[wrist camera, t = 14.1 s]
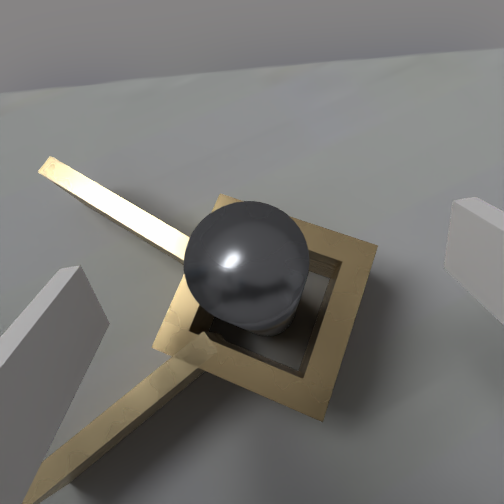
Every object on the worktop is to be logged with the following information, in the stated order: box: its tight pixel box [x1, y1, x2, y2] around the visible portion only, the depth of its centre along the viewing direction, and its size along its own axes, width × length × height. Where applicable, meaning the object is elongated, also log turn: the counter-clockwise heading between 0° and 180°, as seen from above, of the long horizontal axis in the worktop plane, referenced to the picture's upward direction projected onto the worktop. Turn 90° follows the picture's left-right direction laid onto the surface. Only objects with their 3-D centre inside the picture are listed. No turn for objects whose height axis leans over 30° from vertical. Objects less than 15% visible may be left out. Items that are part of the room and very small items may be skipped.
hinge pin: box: [184, 201, 309, 336], centre depth 15 cm, size 4×4×12 cm
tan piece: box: [22, 156, 378, 504], centre depth 19 cm, size 20×18×4 cm
